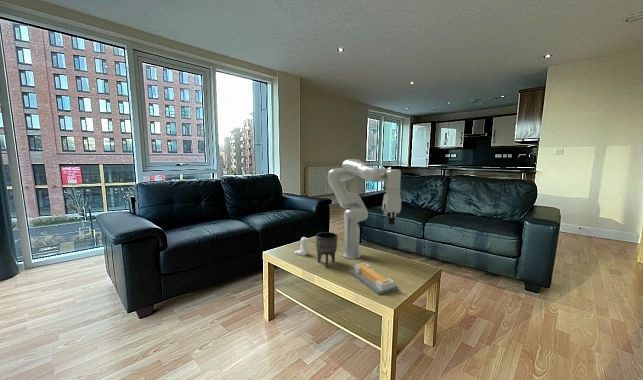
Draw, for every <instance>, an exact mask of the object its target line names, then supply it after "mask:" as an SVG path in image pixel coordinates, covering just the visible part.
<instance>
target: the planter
mask: <svg viewBox="0 0 643 380" xmlns="http://www.w3.org/2000/svg"><path fill="white" fill-rule="evenodd" d="M315 242H316V243H315V247H316V253H317V255H316V256H317V262H318V263H320V262H321V258H322V257H323V256H324V255H325V268H329V257H330V258H331V262H332V263H335V259H336V258H335V257H336V252H337V250H338V234H337V233H335V232H330V231H329V232H328V231H324V232H323V231H321V232H318V233H316V235H315Z"/></svg>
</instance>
